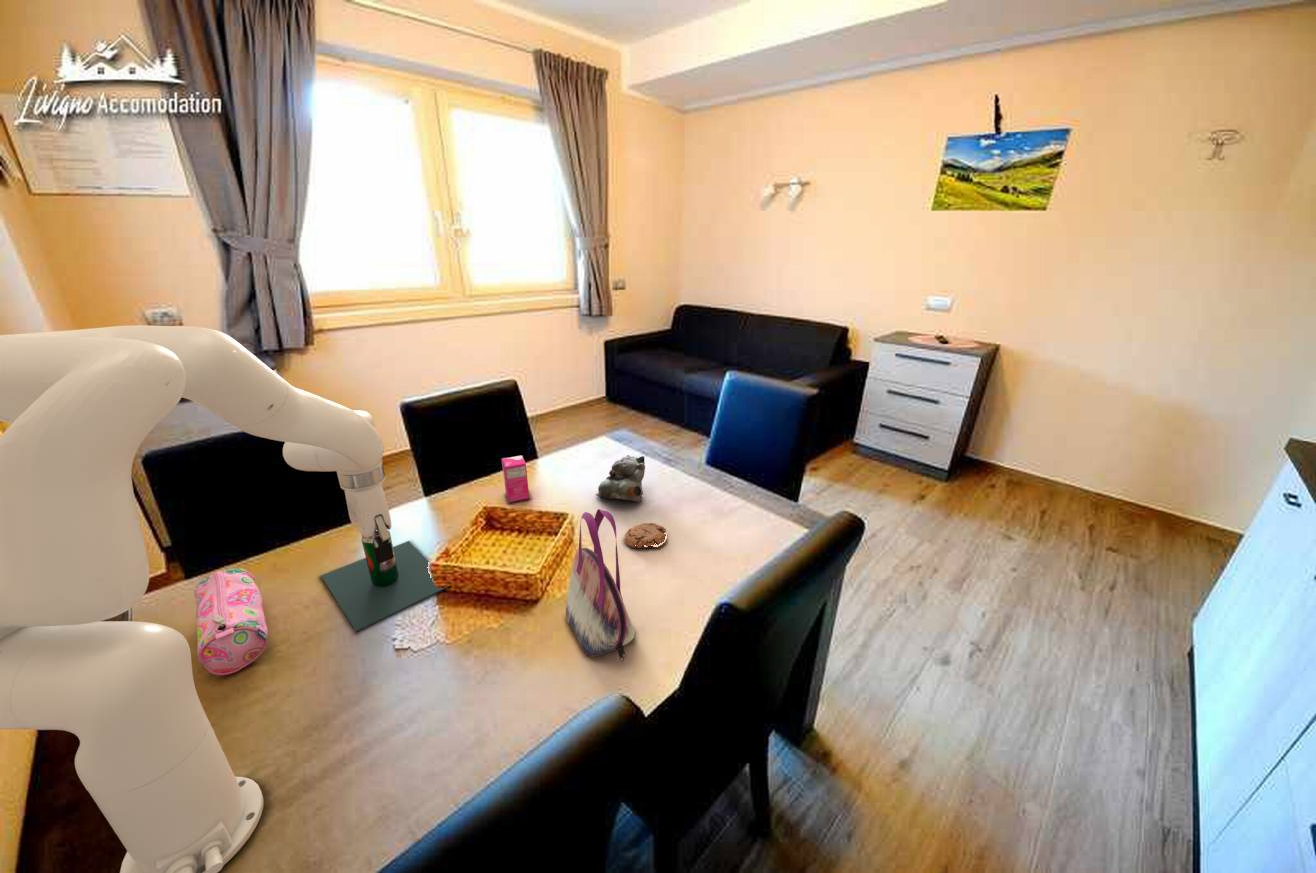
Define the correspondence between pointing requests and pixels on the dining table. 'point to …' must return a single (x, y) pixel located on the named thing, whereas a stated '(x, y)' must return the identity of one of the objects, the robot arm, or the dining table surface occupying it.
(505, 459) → the supplement box
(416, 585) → the place mat
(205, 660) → the pencil case
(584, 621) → the handbag
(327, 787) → the dining table surface
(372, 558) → the soda can
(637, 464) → the lucky cat figurine
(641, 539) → the cookie
